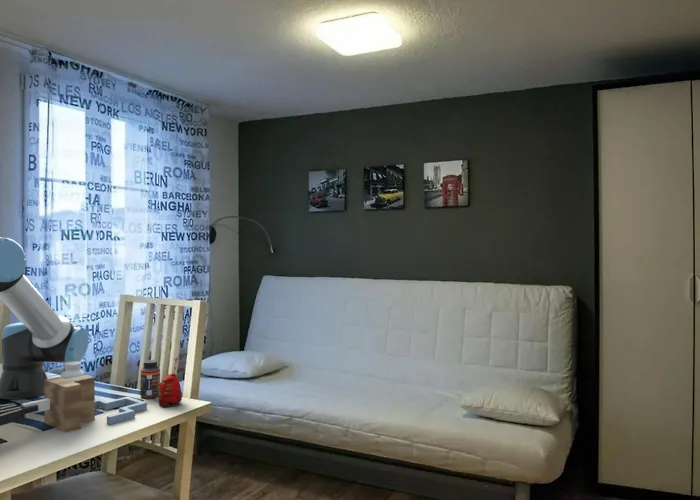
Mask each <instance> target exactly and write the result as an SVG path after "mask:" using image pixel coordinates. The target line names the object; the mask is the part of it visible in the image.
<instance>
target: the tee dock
mask: <svg viewBox="0 0 700 500" xmlns="http://www.w3.org/2000/svg"><path fill="white" fill-rule="evenodd" d="M147 404H148V403H147V402H146V401H143V400H140V399H137V398H133V397H131V396H129V395H128V396H125V397H119V398H116V399H112V400H106V399H103V398H97V399H95V409H98V408H99V407H100V408H99V409H102V408H103V409H102V410H104V409H105V411H107V410H111V409H116V408H118V412H117V413H114V414H110V415H107V416H106V424H108V425H113V424H116V423H120V422H124V421H127V420H131V419H134V418H135V413H138V412H141V411H145V410H147ZM97 407H98V408H97Z"/></svg>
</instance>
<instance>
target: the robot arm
mask: <svg viewBox="0 0 700 500" xmlns="http://www.w3.org/2000/svg"><path fill="white" fill-rule="evenodd" d="M25 257H26V254H25V251H24V249H23V247H22V246H21V245H20V244H19V243H18V242H17V241H15V240H14V239H12V238H9V237H1V236H0V300H1V302H2V304H4V305H5V306H6V307H7V308H8V309H9V310H10V311H11V312H12V314H13V315H14V316H15V317H16V318H17V319H18V320H19V321H20V322H16V323H10V324H7V325H5V326H4V327H3V328H2V334H1V335H2V336H1V355H2V356H1V360H2V365H1V366H2V368H1V369H2V370H1V371H2V372H1V374H0V399H2V400H17V401H16V404H15V403H14V402H11V403H7V404H6V403H5V404H0V427H1V426H5V425H8V424H10V423H14V422H17V421H20V420H26V416H27V415H32V414H36V413H41V412H44V411H45V410H49V409H50V399H48V398H46V399H44V398H43V399H42V398H41V399H39V400H34V401H33V400H32V401H28V402H24V403H23V402H22V403H21V401H20V400H23V399H29V398H30V399H31V398H36V397H39V396H44V380H45V379H49V378H48V375H47V373H46V370H45V368H44V367H45V363H50V364H51V363H52V364H53V363H55V364H64V363H66V362H72V361H79V362H81V361H82V360H83V358H84V357H85V356H86V353H87V351H88V347H89V341H90V339H89V338H90V337H89V332H88V330H87V329H86V328H85V327H83V326H80V325H79V326H75V325H73V323H71V321H70V320H69V319H68V318H67V317H65V316H62V315H58V313H56V312H55V310H54V309H53V308H52V306H51V305H50V304H49V303H48V302H47V301H46V300H45V298H44V297H43V295H41V293H40V292H39V291H38V290H37V289H36V287H34V285H33V284H32V282H30V280H29V279H28V278H27V276H25V273H26V266H27V265H26V264H27V259H26V258H25Z"/></svg>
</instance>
